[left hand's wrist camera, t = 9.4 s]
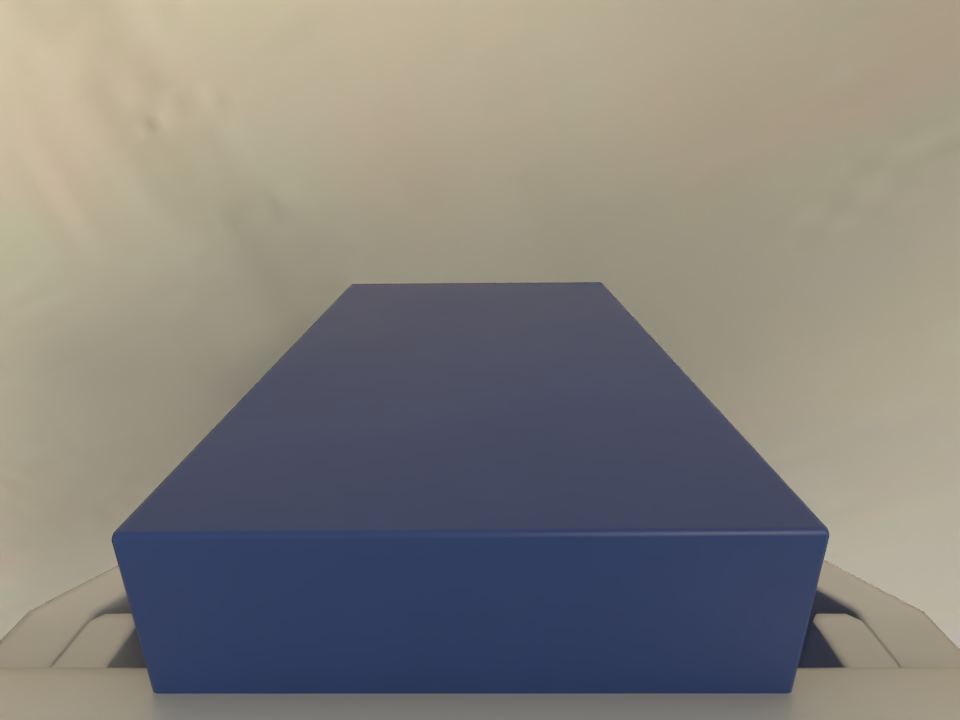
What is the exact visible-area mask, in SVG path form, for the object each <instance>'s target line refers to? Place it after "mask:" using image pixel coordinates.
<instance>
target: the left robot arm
mask: <svg viewBox="0 0 960 720" xmlns="http://www.w3.org/2000/svg"><path fill="white" fill-rule="evenodd" d="M0 720H960V649H959V648H958V647H957V646H956V645H955V644H954V643H953V642H952V641H951V640H950V639H949V638H948V637H947V636H946V635H945V634H944V633H943V632H942V631H941V630H940V628H939V627H938V626H937V625H936V624H935V623H934V622H933V621H932V620H931V619H930V618H929V617H928V616H927V615H926V614H925V613H924V612H923V611H921V610H919V609H917V608H915V607H913V606H911V605H909V604H907V603H905V602H904V601H902V600H900V599H898V598H896V597H894V596H892V595H890V594H888V593H886V592H884V591H882V590H881V589H879V588H877V587H875V586H873V585H871V584H869V583H867V582H865V581H863V580H861V579H859V578H858V577H856V576H854V575H852V574H850V573H848V572H846V571H844V570H842V569H840V568H838V567H836V566H835V565H833V564H831V563H829V562H827V561H825V560H823V564H822V568H821V572H820V576H819V581H818V585H817V589H816V593H815V597H814V601H813V605H812V610H811V614H810V618H809V622H808V626H807V630H806V634H805V639H804V643H803V647H802V651H801V655H800V659H799V663H798V668H797V672H796V676H795V680H794V684H793V688H792V692H790V693H621V694H157V693H154V692H153V689H152V686H151V682H150V679H149V675H148V671H147V668H146V664H145V660H144V657H143V653H142V649H141V646H140V642H139V638H138V635H137V631H136V627H135V624H134V620H133V616H132V613H131V609H130V605H129V602H128V598H127V594H126V591H125V587H124V583H123V580H122V576H121V572H120V569H119V565H118V566H116V567H114V568H112V569H110V570H108V571H107V572H105V573H103V574H101V575H99V576H97V577H95V578H93V579H91V580H89V581H87V582H85V583H83V584H81V585H79V586H77V587H75V588H74V589H72V590H70V591H68V592H66V593H64V594H62V595H60V596H58V597H56V598H54V599H52V600H50V601H48V602H46V603H44V604H42V605H40V606H39V607H37V608H35V609H33V610H31V611H29V612H28V613H27V614H26V615H25V616H24V617H23V618H22V619H21V620H20V621H19V622H18V623H17V624H16V625H15V626H14V627H13V629H12V630H11V631H10V632H9V633H8V634H7V635H6V636H5V637H4V638H3V639H2V640H1V641H0Z"/></svg>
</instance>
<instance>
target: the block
mask: <svg viewBox="0 0 960 720" xmlns="http://www.w3.org/2000/svg"><path fill="white" fill-rule="evenodd" d="M828 539H829V532H828V529H827V528H826V526H825V525H824V524H823V523H822V522H821V521H820V520H819V519H818V518H817V517H816V516H815V514H814V513H813V512H812V511H811V510H810V509H809V508H808V507H807V506H806V505H805V504H804V503H803V501H802V500H801V499H800V498H799V497H798V496H797V495H796V494H795V493H794V492H793V491H792V489H791V488H790V487H789V486H788V485H787V484H786V483H785V482H784V481H783V480H782V479H781V478H780V476H779V475H778V474H777V473H776V472H775V471H774V470H773V469H772V468H771V467H770V466H769V464H768V463H767V462H766V461H765V460H764V459H763V458H762V457H761V456H760V455H759V454H758V452H757V451H756V450H755V449H754V448H753V447H752V446H751V445H750V444H749V443H748V442H747V441H746V439H745V438H744V437H743V436H742V435H741V434H740V433H739V432H738V431H737V430H736V429H735V427H734V426H733V425H732V424H731V423H730V422H729V421H728V420H727V419H726V418H725V417H724V416H723V414H722V413H721V412H720V411H719V410H718V409H717V408H716V407H715V406H714V405H713V404H712V402H711V401H710V400H709V399H708V398H707V397H706V396H705V395H704V394H703V393H702V392H701V391H700V389H699V388H698V387H697V386H696V385H695V384H694V383H693V382H692V381H691V380H690V379H689V377H688V376H687V375H686V374H685V373H684V372H683V371H682V370H681V369H680V368H679V367H678V366H677V364H676V363H675V362H674V361H673V360H672V359H671V358H670V357H669V356H668V355H667V354H666V352H665V351H664V350H663V349H662V348H661V347H660V346H659V345H658V344H657V343H656V342H655V340H654V339H653V338H652V337H651V336H650V335H649V334H648V333H647V332H646V331H645V330H644V329H643V327H642V326H641V325H640V324H639V323H638V322H637V321H636V320H635V319H634V318H633V317H632V315H631V314H630V313H629V312H628V311H627V310H626V309H625V308H624V307H623V306H622V305H621V304H620V302H619V301H618V300H617V299H616V298H615V297H614V296H613V295H612V294H611V293H610V292H609V290H608V289H607V288H606V287H605V286H604V285H603V284H602V283H600V282H581V283H441V284H352V285H351V286H350V287H349V288H348V289H347V290H346V291H345V292H344V293H343V294H342V295H341V296H340V297H339V298H338V299H337V300H336V301H335V302H334V303H333V304H332V305H331V307H330V308H329V309H328V310H327V311H326V312H325V313H324V314H323V315H322V316H321V317H320V318H319V319H318V320H317V321H316V322H315V323H314V324H313V325H312V326H311V327H310V328H309V329H308V331H307V332H306V333H305V334H304V335H303V336H302V337H301V338H300V339H299V340H298V341H297V342H296V343H295V344H294V345H293V346H292V347H291V348H290V349H289V350H288V351H287V352H286V354H285V355H284V356H283V357H282V358H281V359H280V360H279V361H278V362H277V363H276V364H275V365H274V366H273V367H272V368H271V369H270V370H269V371H268V372H267V373H266V374H265V375H264V376H263V378H262V379H261V380H260V381H259V382H258V383H257V384H256V385H255V386H254V387H253V388H252V389H251V390H250V391H249V392H248V393H247V394H246V395H245V396H244V397H243V398H242V399H241V400H240V402H239V403H238V404H237V405H236V406H235V407H234V408H233V409H232V410H231V411H230V412H229V413H228V414H227V415H226V416H225V417H224V418H223V419H222V420H221V421H220V422H219V423H218V425H217V426H216V427H215V428H214V429H213V430H212V431H211V432H210V433H209V434H208V435H207V436H206V437H205V438H204V439H203V440H202V441H201V442H200V443H199V444H198V445H197V446H196V447H195V449H194V450H193V451H192V452H191V453H190V454H189V455H188V456H187V457H186V458H185V459H184V460H183V461H182V462H181V463H180V464H179V465H178V466H177V467H176V468H175V469H174V470H173V471H172V473H171V474H170V475H169V476H168V477H167V478H166V479H165V480H164V481H163V482H162V483H161V484H160V485H159V486H158V487H157V488H156V489H155V490H154V491H153V492H152V493H151V494H150V496H149V497H148V498H147V499H146V500H145V501H144V502H143V503H142V504H141V505H140V506H139V507H138V508H137V509H136V510H135V511H134V512H133V513H132V514H131V515H130V516H129V517H128V518H127V520H126V521H125V522H124V523H123V524H122V525H121V526H120V527H119V528H118V529H117V530H116V531H115V532H114V534H113V536H112V543H113V547H114V550H115V554H116V558H117V561H118V565H119V569H120V572H121V576H122V580H123V583H124V587H125V591H126V594H127V598H128V602H129V605H130V609H131V613H132V616H133V620H134V624H135V627H136V631H137V635H138V638H139V642H140V646H141V649H142V653H143V657H144V660H145V664H146V668H147V671H148V675H149V679H150V682H151V686H152V689H153V692H154V693H157V694H621V693H790V692H792V688H793V684H794V680H795V676H796V672H797V668H798V663H799V659H800V655H801V651H802V647H803V643H804V639H805V634H806V630H807V626H808V622H809V618H810V614H811V610H812V605H813V601H814V597H815V593H816V589H817V585H818V581H819V576H820V572H821V568H822V564H823V560H824V556H825V552H826V547H827V543H828Z"/></svg>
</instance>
